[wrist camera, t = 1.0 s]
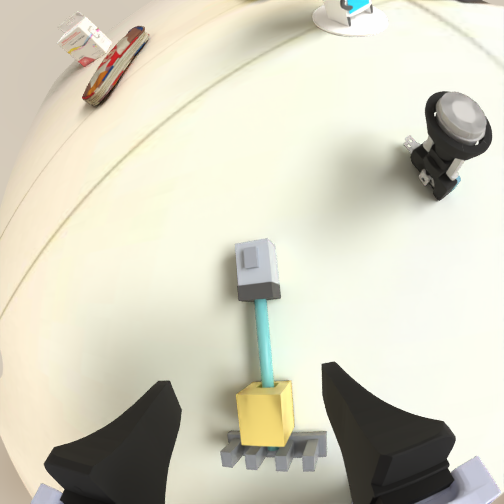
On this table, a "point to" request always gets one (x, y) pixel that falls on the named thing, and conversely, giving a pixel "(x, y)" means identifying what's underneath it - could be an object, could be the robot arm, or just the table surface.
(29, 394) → the table surface
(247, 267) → the connector
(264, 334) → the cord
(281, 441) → the marker sleeve
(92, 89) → the pencil case
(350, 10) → the panda figurine
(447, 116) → the push button
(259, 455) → the cable comb
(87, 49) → the ink cartridge box
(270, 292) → the band
